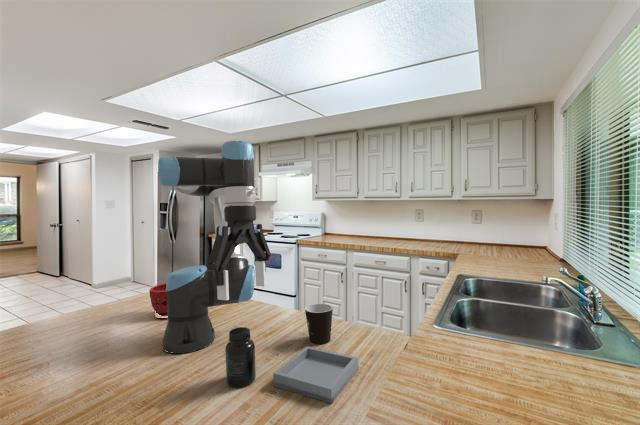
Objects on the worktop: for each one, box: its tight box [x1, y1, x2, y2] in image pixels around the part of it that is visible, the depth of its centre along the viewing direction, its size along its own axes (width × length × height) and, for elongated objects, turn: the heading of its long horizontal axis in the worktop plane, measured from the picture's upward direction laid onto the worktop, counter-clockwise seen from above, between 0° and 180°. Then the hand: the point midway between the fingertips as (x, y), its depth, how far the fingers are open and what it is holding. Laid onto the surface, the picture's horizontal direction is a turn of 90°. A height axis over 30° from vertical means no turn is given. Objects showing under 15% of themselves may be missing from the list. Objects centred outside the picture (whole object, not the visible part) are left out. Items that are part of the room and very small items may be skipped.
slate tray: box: [272, 346, 359, 404], centre depth 74 cm, size 15×15×3 cm
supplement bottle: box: [224, 326, 257, 389], centre depth 73 cm, size 7×7×12 cm
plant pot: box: [149, 282, 168, 316], centre depth 122 cm, size 13×13×12 cm
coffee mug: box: [304, 303, 334, 346], centre depth 96 cm, size 12×9×10 cm
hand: (243, 292), depth 75 cm, fingers open, 13 cm apart
